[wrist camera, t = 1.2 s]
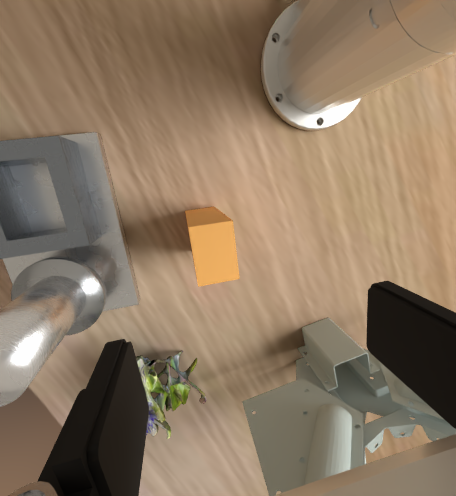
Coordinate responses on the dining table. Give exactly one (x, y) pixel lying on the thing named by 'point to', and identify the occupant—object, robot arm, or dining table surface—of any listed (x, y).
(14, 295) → the gray socket post fixture
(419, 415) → the bracket
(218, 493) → the dining table surface
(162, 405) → the passion flower
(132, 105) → the dining table surface
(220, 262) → the tan rectangular block
